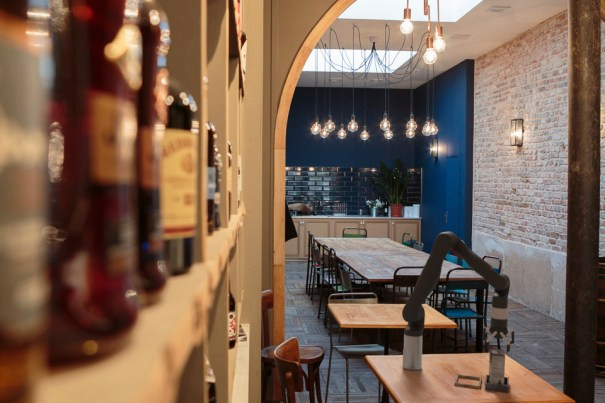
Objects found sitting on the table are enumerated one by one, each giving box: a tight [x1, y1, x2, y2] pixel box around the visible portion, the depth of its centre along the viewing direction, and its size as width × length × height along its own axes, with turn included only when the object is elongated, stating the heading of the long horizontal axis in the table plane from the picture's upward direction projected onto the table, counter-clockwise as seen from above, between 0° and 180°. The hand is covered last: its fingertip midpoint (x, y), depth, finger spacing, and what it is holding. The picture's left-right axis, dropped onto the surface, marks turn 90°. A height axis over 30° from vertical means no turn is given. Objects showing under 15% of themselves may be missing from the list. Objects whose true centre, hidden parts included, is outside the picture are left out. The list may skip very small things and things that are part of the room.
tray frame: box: [454, 373, 483, 390], centre depth 267 cm, size 12×14×1 cm
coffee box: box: [488, 348, 506, 385], centre depth 262 cm, size 9×6×16 cm
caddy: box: [484, 374, 510, 394], centre depth 262 cm, size 10×13×3 cm
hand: (497, 350), depth 261 cm, fingers open, 8 cm apart
